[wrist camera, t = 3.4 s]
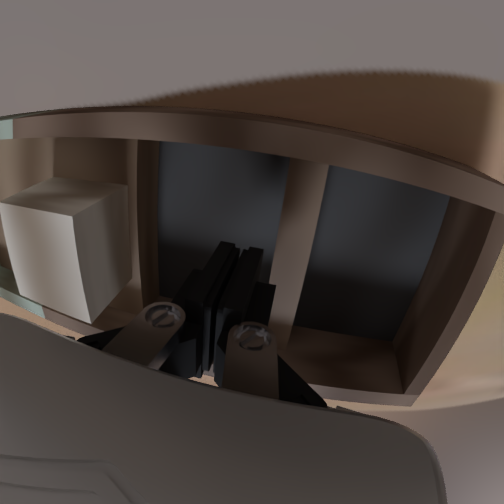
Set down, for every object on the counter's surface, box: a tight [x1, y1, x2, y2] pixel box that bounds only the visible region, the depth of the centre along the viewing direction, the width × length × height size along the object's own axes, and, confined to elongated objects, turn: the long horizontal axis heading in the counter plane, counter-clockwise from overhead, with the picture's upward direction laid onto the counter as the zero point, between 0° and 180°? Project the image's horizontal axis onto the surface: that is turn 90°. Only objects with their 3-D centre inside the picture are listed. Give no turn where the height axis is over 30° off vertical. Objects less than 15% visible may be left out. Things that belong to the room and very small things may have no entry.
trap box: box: [0, 106, 504, 406], centre depth 15 cm, size 30×12×4 cm, turn 83°
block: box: [0, 177, 132, 324], centre depth 13 cm, size 5×5×4 cm
